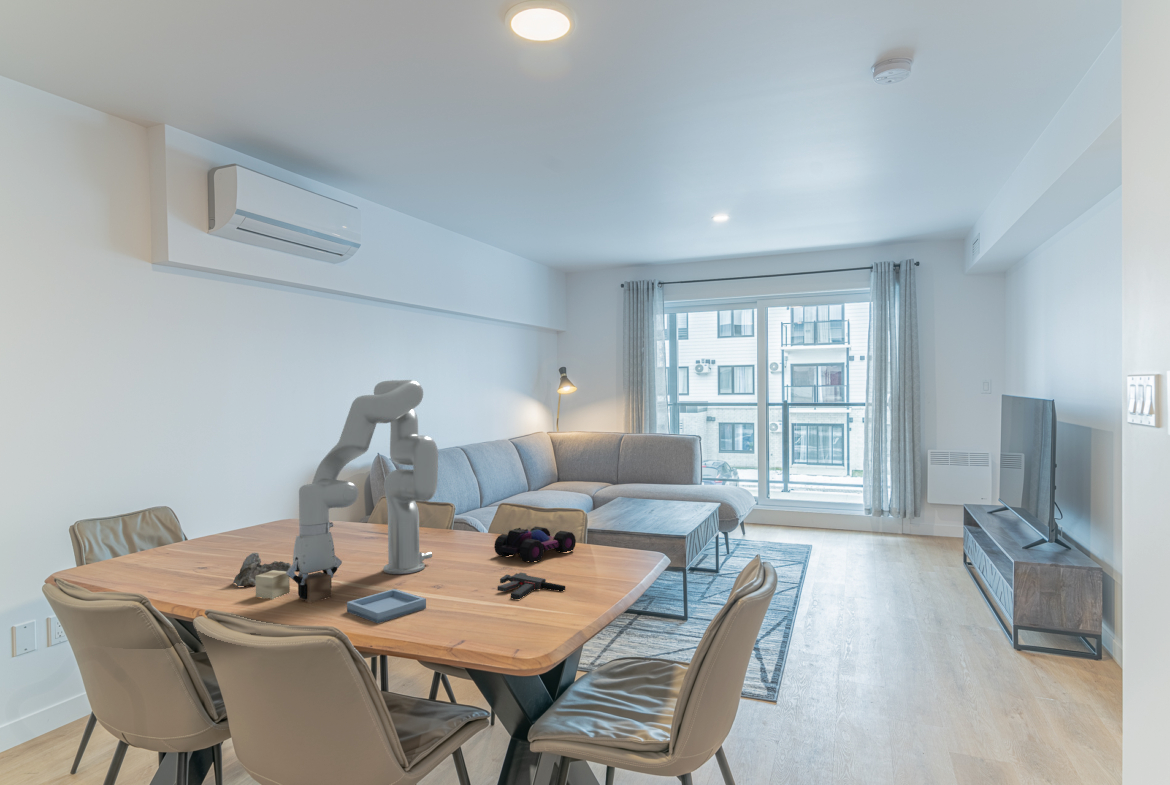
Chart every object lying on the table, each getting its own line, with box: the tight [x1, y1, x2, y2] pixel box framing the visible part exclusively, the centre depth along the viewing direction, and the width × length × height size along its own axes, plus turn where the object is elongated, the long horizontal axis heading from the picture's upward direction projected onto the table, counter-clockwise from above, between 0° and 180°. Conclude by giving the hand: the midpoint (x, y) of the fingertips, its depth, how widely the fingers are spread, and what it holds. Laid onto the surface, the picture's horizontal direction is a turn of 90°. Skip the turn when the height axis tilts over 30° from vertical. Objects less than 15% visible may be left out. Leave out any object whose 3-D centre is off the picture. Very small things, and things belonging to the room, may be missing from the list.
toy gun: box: [497, 571, 566, 600], centre depth 179 cm, size 3×19×15 cm
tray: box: [346, 588, 427, 624], centre depth 165 cm, size 14×14×2 cm
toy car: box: [493, 526, 577, 563], centre depth 222 cm, size 17×25×10 cm, turn 139°
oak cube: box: [255, 570, 291, 600], centre depth 180 cm, size 6×6×6 cm
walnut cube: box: [298, 571, 332, 604], centre depth 176 cm, size 6×6×6 cm
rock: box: [232, 552, 292, 587], centre depth 197 cm, size 18×11×10 cm, turn 148°
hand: (315, 594), depth 176 cm, fingers closed on walnut cube, 6 cm apart
